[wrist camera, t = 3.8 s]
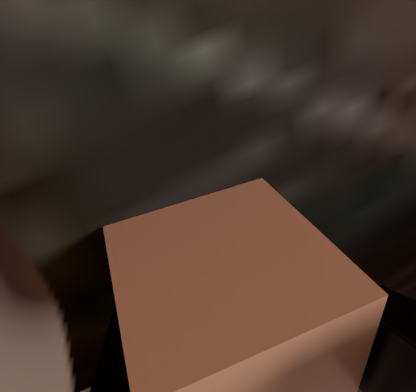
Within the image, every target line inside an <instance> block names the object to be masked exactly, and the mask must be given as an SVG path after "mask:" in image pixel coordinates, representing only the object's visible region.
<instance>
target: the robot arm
mask: <svg viewBox="0 0 416 392" xmlns="http://www.w3.org/2000/svg"><path fill="white" fill-rule="evenodd" d="M375 283H376V282H375ZM376 284H377V285H378V286H379V287H380V288H382V289H383V290H384V291H385V292H386V293H387V294H388V298H387V301H386V304H385V307H384V311H383V314H382V317H381V320H380V323H379V326H378V329H377V332H376V335H375V338H374V342H373V345H372V348H371V351H370V354H369V357H368V360H367V363H366V366H365V369H364V373H363V376H362V379H361V382H360V385H359V389H360V390H361V392H416V301H415V300H413V299H411V298H409V297H406V296H404V295H402V294H400V293H396V292H395V291H393V290H391V289H389V288H387V287H385V286H382V285H380V284H378V283H376ZM90 392H130V387H129V381H128V375H127V369H126V363H125V357H124V351H123V345H122V339H121V333H120V327H119V321H118V315H117V309H116V308H114V310H113V313H112V317H111V320H110V324H109V327H108V331H107V334H106V337H105V341H104V344H103V348H102V351H101V355H100V358H99V362H98V365H97V368H96V372H95V375H94V379H93V382H92V386H91V389H90Z"/></svg>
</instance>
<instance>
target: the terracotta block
mask: <svg viewBox="0 0 416 392" xmlns="http://www.w3.org/2000/svg"><path fill="white" fill-rule="evenodd" d="M103 231H104V237H105V243H106V249H107V255H108V261H109V267H110V273H111V279H112V285H113V291H114V297H115V303H116V309H117V315H118V321H119V327H120V333H121V339H122V345H123V351H124V357H125V363H126V369H127V375H128V381H129V387H130V392H357V391H358V388H359V385H360V382H361V379H362V376H363V373H364V369H365V366H366V363H367V360H368V357H369V354H370V351H371V348H372V345H373V342H374V338H375V335H376V332H377V329H378V326H379V323H380V320H381V317H382V314H383V311H384V307H385V304H386V301H387V298H388V294H387V293H386V292H385V291H384V290H383V289H382V288H380V287H379V286H378V285H377V284H376V283H375V282H374V281H373V280H372V279H371V278H370V277H369V276H367V275H366V274H365V273H364V272H363V271H362V270H361V269H360V268H359V267H358V266H357V265H356V264H354V263H353V262H352V261H351V260H350V259H349V258H348V257H347V256H346V255H345V254H344V253H343V252H341V251H340V250H339V249H338V248H337V247H336V246H335V245H334V244H333V243H332V242H331V241H330V240H328V239H327V238H326V237H325V236H324V235H323V234H322V233H321V232H320V231H319V230H318V229H317V228H316V227H314V226H313V225H312V224H311V223H310V222H309V221H308V220H307V219H306V218H305V217H304V216H303V215H301V214H300V213H299V212H298V211H297V210H296V209H295V208H294V207H293V206H292V205H291V204H290V203H288V202H287V201H286V200H285V199H284V198H283V197H282V196H281V195H280V194H279V193H278V192H277V191H275V190H274V189H273V188H272V187H271V186H270V185H269V184H268V183H267V182H266V181H265V180H264V179H262V178H260V179H257V180H253V181H250V182H247V183H244V184H240V185H237V186H234V187H230V188H227V189H224V190H221V191H217V192H214V193H211V194H208V195H204V196H201V197H198V198H195V199H191V200H188V201H185V202H181V203H178V204H175V205H172V206H168V207H165V208H162V209H159V210H155V211H152V212H149V213H146V214H142V215H139V216H136V217H132V218H129V219H126V220H123V221H119V222H116V223H113V224H110V225H106V226H103Z"/></svg>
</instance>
